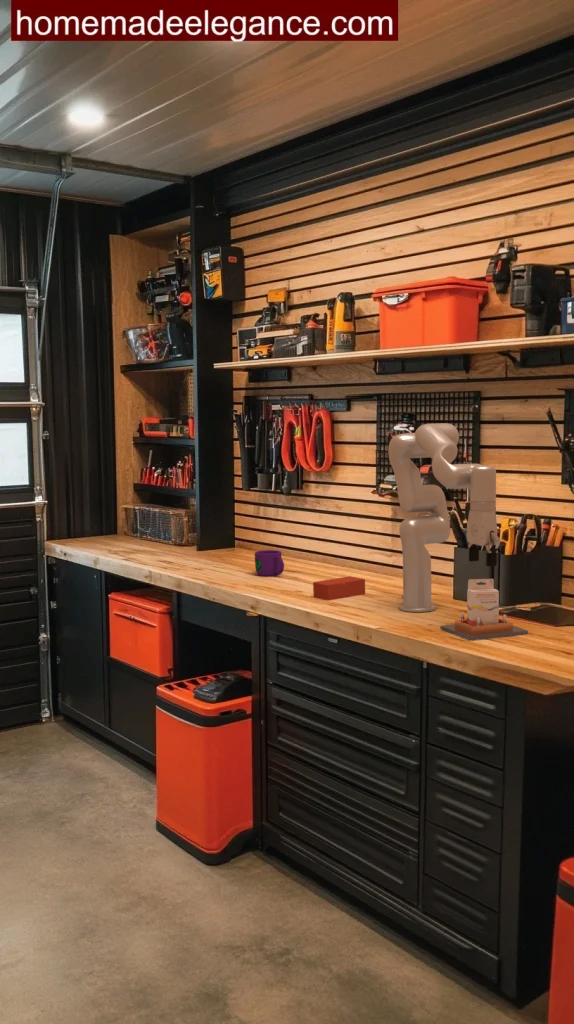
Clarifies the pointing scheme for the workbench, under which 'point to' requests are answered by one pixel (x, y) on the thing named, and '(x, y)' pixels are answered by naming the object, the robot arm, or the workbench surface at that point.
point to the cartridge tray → (483, 629)
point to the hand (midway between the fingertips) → (482, 563)
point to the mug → (268, 563)
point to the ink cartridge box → (482, 602)
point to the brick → (339, 588)
